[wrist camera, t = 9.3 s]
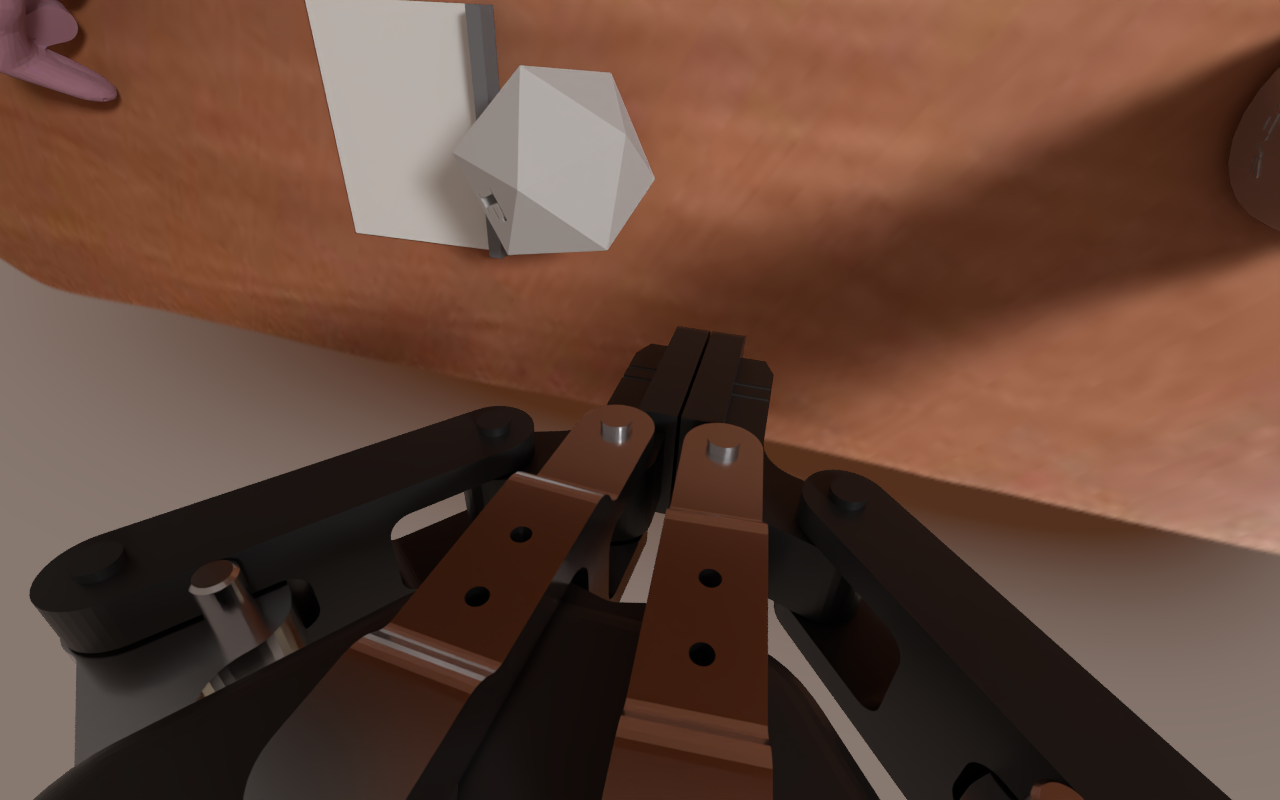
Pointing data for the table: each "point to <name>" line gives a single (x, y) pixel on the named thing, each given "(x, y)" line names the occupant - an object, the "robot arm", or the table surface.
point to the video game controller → (46, 49)
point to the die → (555, 161)
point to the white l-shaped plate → (408, 112)
